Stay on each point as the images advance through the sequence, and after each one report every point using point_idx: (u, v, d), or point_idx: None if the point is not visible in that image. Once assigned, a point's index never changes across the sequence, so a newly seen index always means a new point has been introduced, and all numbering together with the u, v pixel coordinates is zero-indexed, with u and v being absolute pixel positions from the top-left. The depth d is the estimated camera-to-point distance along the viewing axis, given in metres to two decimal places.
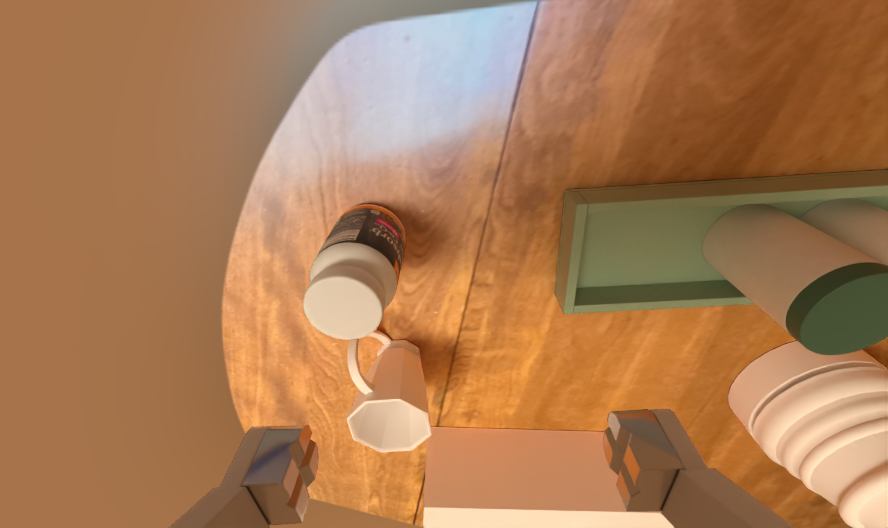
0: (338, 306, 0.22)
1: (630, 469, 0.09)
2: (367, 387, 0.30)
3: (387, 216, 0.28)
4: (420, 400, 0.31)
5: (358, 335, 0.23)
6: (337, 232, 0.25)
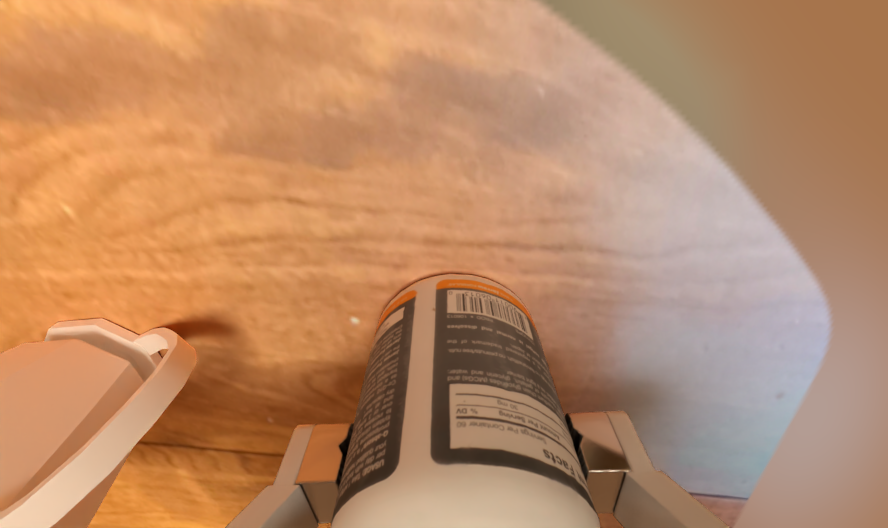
0: None
1: None
2: None
3: None
4: None
5: None
6: (564, 421, 0.09)
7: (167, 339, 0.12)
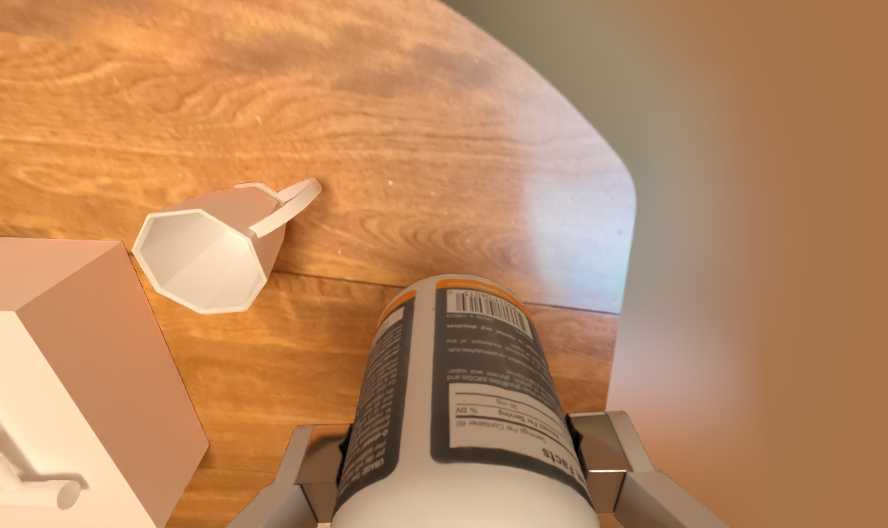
0: None
1: None
2: (266, 232, 0.21)
3: None
4: None
5: None
6: (564, 420, 0.09)
7: (304, 180, 0.25)
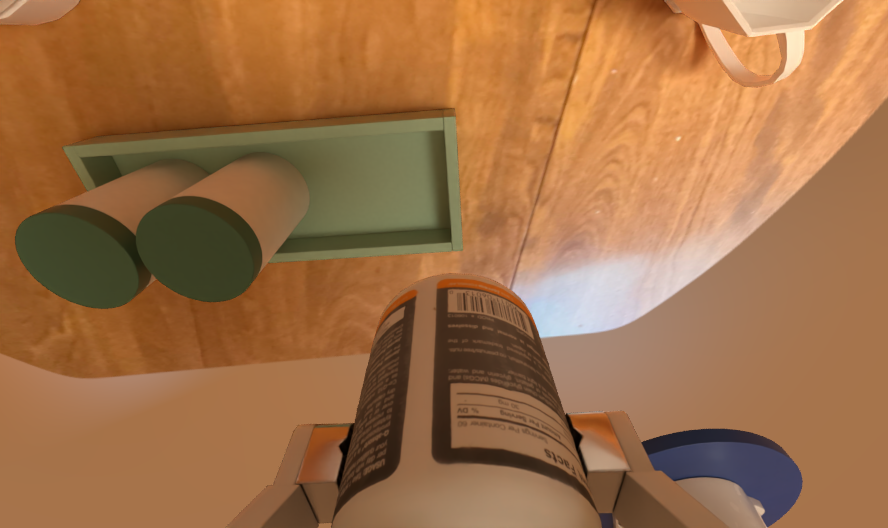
0: None
1: None
2: (788, 41, 0.18)
3: None
4: (713, 2, 0.17)
5: None
6: (565, 420, 0.09)
7: (735, 55, 0.23)
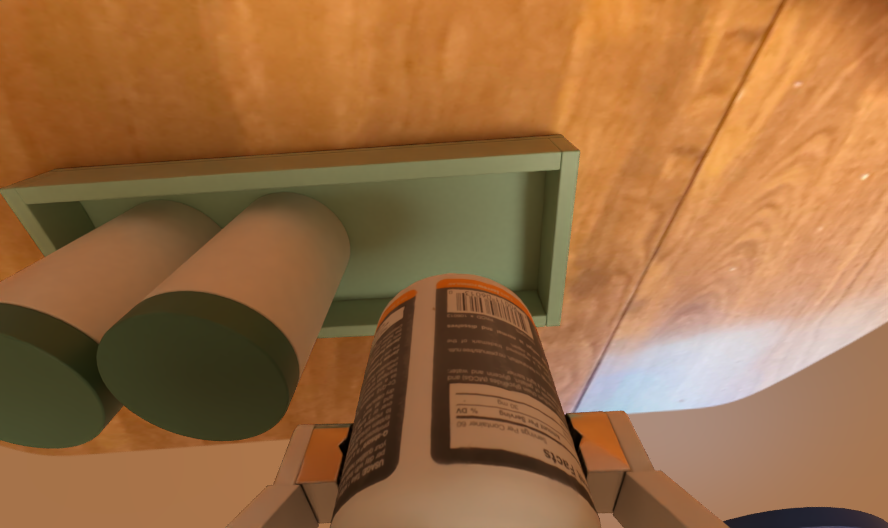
0: None
1: None
2: None
3: None
4: None
5: None
6: (564, 420, 0.09)
7: None
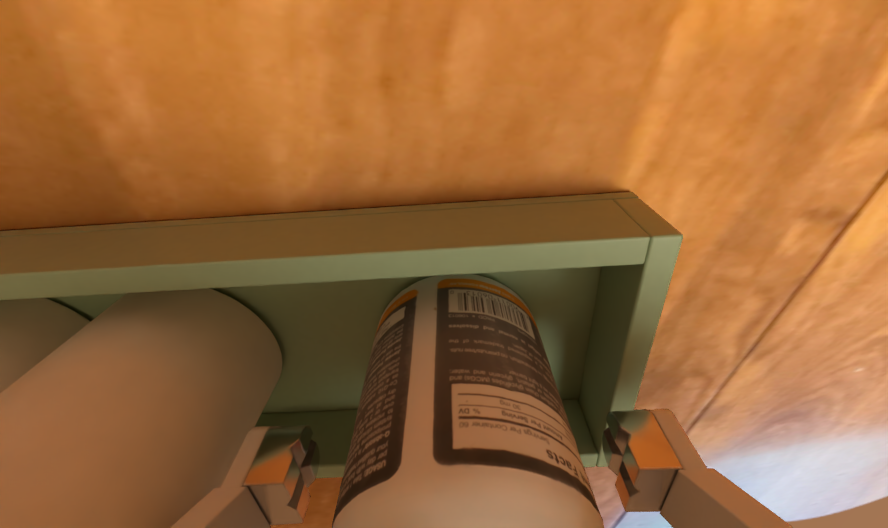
0: None
1: (629, 469, 0.09)
2: None
3: None
4: None
5: None
6: (567, 421, 0.09)
7: None
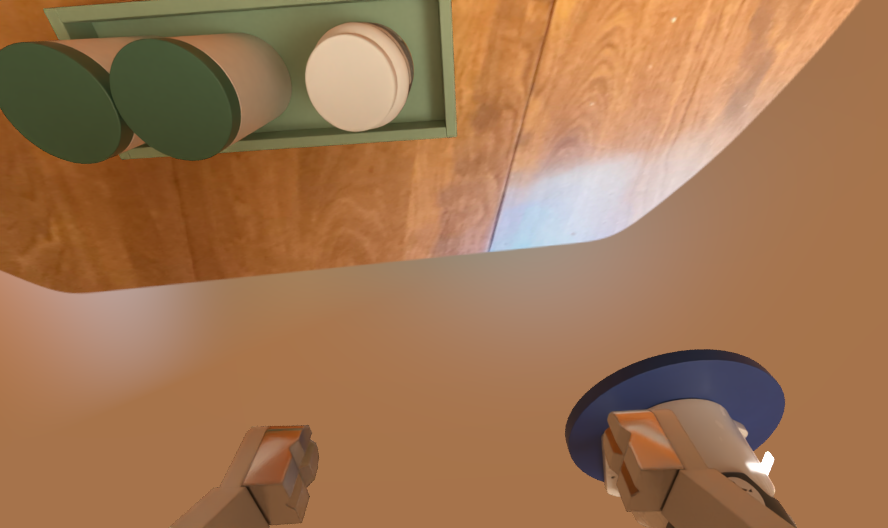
0: (355, 80, 0.20)
1: (630, 469, 0.09)
2: None
3: None
4: None
5: (315, 100, 0.20)
6: (404, 52, 0.24)
7: None
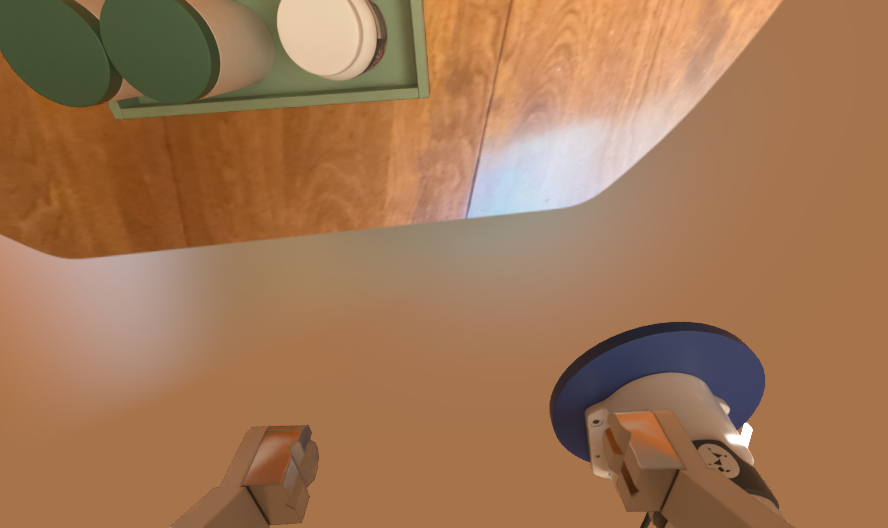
0: (322, 25, 0.22)
1: (630, 469, 0.09)
2: None
3: (381, 58, 0.30)
4: None
5: (287, 44, 0.22)
6: (374, 10, 0.25)
7: None
